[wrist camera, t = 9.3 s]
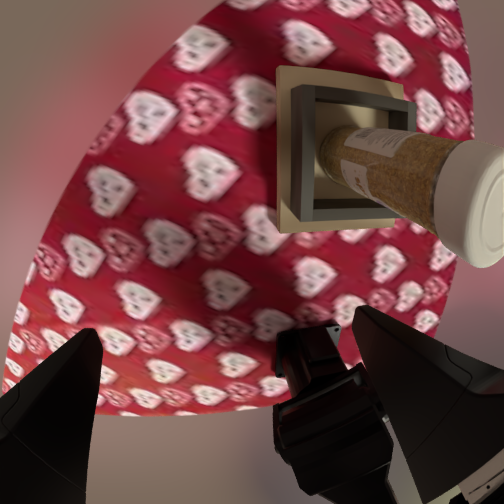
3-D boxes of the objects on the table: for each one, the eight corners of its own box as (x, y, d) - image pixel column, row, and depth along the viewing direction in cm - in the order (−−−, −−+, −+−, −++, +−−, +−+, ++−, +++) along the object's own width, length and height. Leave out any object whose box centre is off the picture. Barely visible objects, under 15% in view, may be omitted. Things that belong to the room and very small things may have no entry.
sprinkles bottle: (316, 183, 19) (453, 278, 7) (319, 120, 17) (481, 134, 5) (371, 186, 20) (512, 267, 8) (376, 128, 18) (535, 161, 6)
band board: (386, 222, 23) (410, 238, 20) (276, 227, 22) (288, 247, 18) (394, 85, 18) (422, 83, 14) (275, 68, 17) (289, 57, 13)
